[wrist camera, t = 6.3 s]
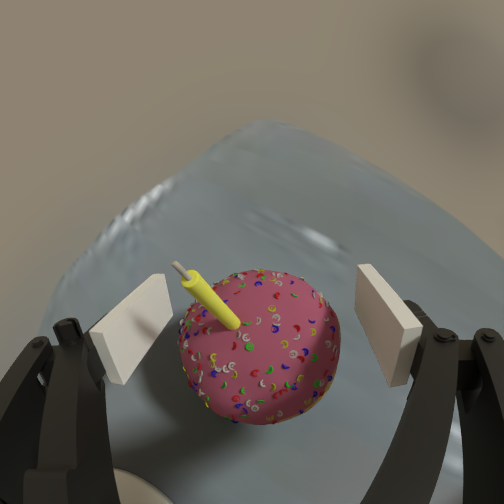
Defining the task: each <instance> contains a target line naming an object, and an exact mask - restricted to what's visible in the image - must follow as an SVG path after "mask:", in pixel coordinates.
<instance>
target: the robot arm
mask: <svg viewBox="0 0 504 504" xmlns="http://www.w3.org/2000/svg"><path fill="white" fill-rule="evenodd" d="M354 310H355V312H356V314H357V316H358V318H359V320H360V322H361V324H362V326H363V328H364V331H365V333H366V335H367V337H368V339H369V341H370V344H371V346H372V348H373V350H374V353H375V355H376V357H377V359H378V362H379V364H380V366H381V369H382V371H383V373H384V376H385V378H386V380H387V383H388V385H389V388H390V387H395V386H400V385H404V384H407V381H408V378H409V375H410V373H411V375H412V377H413V379H414V381H413V384H412V387H411V389H410V392H409V395H408V397H407V403H406V406H405V408H404V411H403V414H402V417H401V420H400V422H399V425H398V428H397V430H396V433H395V435H394V438H393V440H392V442H391V445H390V447H389V449H388V452H387V454H386V456H385V458H384V460H383V462H382V464H381V466H380V468H379V471H378V472H377V474H376V476H375V478H374V480H373V482H372V484H371V486H370V488H369V489H368V491H367V493H366V495H365V496H364V498H363V500H362V501H361V503H360V504H429V502H430V500H431V497H432V494H433V492H434V489H435V486H436V483H437V480H438V477H439V473H440V470H441V467H442V463H443V459H444V456H445V452H446V447H447V443H448V439H449V434H450V429H451V423H452V417H453V411H454V404H455V396H456V399H457V405H458V411H459V419H460V427H461V436H462V449H463V504H504V340H503V338H502V337H501V335H500V334H499V333H498V332H496V331H495V330H493V329H490V328H482V329H479V330H477V331H476V333H475V336H474V339H473V340H459V338H458V336H457V335H456V334H455V333H454V332H453V331H451V330H448V329H445V328H437V326H436V325H435V324H434V323H433V322H432V321H431V319H430V318H429V317H428V316H426V314H425V313H424V311H422V309H421V308H420V307H419V306H418V305H417V304H416V303H414V302H412V301H410V300H405V301H402V300H401V299H400V297H399V296H398V295H397V294H396V293H395V292H394V290H393V289H392V288H391V287H390V286H389V285H388V283H387V282H386V281H385V280H384V279H383V278H382V277H381V276H380V274H379V273H378V272H377V271H376V270H375V269H374V268H373V267H372V266H371V264H361V265H357V279H356V295H355V308H354ZM172 316H173V312H172V308H171V304H170V299H169V294H168V290H167V285H166V280H165V275H164V274H153V275H151V276H150V277H149V278H148V279H147V280H146V281H144V282H143V283H142V284H141V285H140V286H139V287H137V288H136V289H135V290H134V291H133V292H132V293H131V294H129V295H128V296H127V297H126V298H125V299H124V300H123V301H121V302H120V303H119V304H118V305H117V306H116V307H115V308H114V309H113V310H111V311H110V312H109V313H107V314H105V315H104V316H103V317H102V318H101V319H100V320H99V321H97V322H96V323H95V324H94V325H93V326H92V327H91V328H90V329H89V330H88V331H86V332H85V333H84V334H83V332H82V330H81V327H80V324H79V322H78V320H77V319H76V318H66V319H63V320H61V321H59V322H57V323H56V324H55V325H54V326H53V330H54V332H55V335H56V337H57V339H58V342H59V345H58V346H51V343H50V341H49V339H48V338H47V337H45V336H41V337H37V338H34V339H33V340H31V341H30V342H29V343H28V344H27V346H26V347H25V348H24V350H23V351H22V352H21V353H20V355H19V356H18V357H17V359H16V360H15V362H14V363H13V364H12V366H11V367H10V369H9V370H8V372H7V373H6V374H5V376H4V377H3V379H2V380H1V382H0V504H121V503H120V498H119V494H118V490H117V485H116V480H115V475H114V470H113V464H112V458H111V451H110V443H109V435H108V426H107V414H106V399H105V383H104V381H103V379H102V376H103V375H104V374H105V373H106V374H107V376H108V378H109V380H110V382H112V383H116V384H121V385H124V384H125V383H126V381H127V380H128V378H129V377H130V376H131V374H132V373H133V371H134V370H135V368H136V367H137V365H138V364H139V363H140V361H141V360H142V358H143V357H144V355H145V354H146V353H147V351H148V350H149V348H150V347H151V345H152V344H153V343H154V341H155V340H156V338H157V337H158V336H159V334H160V333H161V331H162V330H163V329H164V327H165V326H166V324H167V323H168V322H169V320H170V319H171V317H172ZM38 373H40V375H41V377H42V379H43V381H44V384H43V385H41V383H40V382H39V380H38V378H37V376H38Z"/></svg>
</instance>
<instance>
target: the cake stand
mask: <svg viewBox="0 0 504 504" xmlns="http://www.w3.org/2000/svg"><path fill="white" fill-rule="evenodd" d="M113 470H114V475H115V480H116V485H117V490H118V494H119V498H120V503H121V504H174V503H173V502H172V501H171V500H170V499H169V498H168V497H167V496H166V495H165V494H164V493H162V492H161V491H160V490H159V489H157V488H156V487H155V486H153V485H152V484H150V483H149V482H147V481H146V480H144V479H142V478H140V477H138V476H137V475H135V474H132V473H130V472H128V471H124V470H121V469H117V468H113Z"/></svg>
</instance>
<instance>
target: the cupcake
mask: <svg viewBox="0 0 504 504" xmlns="http://www.w3.org/2000/svg"><path fill="white" fill-rule="evenodd" d="M172 266H173V267H174V268H175V269H176V270H177V271H178V272H179V273H180V274H181V275H182V277H181V284H182V286H183V287H184V288H185V289H186V290H187V291H188V292H189V293H190V294H191V295H192V296H193V297H194V298H195V303H192V304H193V305H192V304H190V306H191V308H189V309H188V310H187V311H189V312H187V313H186V314H185V320H183V319H182V320H181V321H180V325H181V326H182V329H179V334H180V339H179V340H178V341H177V344H178V345H179V350H180V354H181V358H182V362H183V365H184V366H183V370H184V371H185V372H186V374H187V377H188V379H189V382H188V384H189V386H190V387H192V388H193V390H194V391H195V392H196V393H197V394H198V395H199V396H200V397H201V398H202V399H203V400H204V401H205V404H206V406H207V407H208V408H209V407H210V408H211V409H212V410H213V411H214V412H215V413H216V414H218V415H220V416H222V417H224V418H226V419H227V420H232V422H233V423H238V422H243V423H247V424H254V425H266V424H275V423H279V422H282V421H285V420H288V419H291V418H293V417H296V416H298V415H301V414H303V413H305V412H306V411H308V410H309V409H311V408H312V407H313V406H314V405H316V404H317V403H318V402H319V400H320V399H321V398H322V397H323V396H324V395H325V394H326V392H327V391H328V389H329V388H330V386H331V384H332V382H333V379H334V377H335V373H336V369H337V364H338V360H339V354H340V343H341V333H340V325H339V321H338V318H337V316H336V314H335V312H334V311H333V309H332V308H331V307H330V305H329V302H328V301H325V299H324V298H323V294H322V293H321V292H317V291H316V290H315V289H313V288H312V287H311V286H310V285H309V284H308V283H306V282H305V281H304V278H303V277H300V278H298V277H296V276H293V275H289V274H287V273H281V272H275V271H267V270H263V269H260V270H259V269H256V268H254V270H251V271H245V272H241V273H234V274H232V275H230V276H229V277H226V278H224V279H223V280H222V281H220V282H214V283H213V284H214V285H210V286H209V285H208V284H207V283H206V282H205V280H204V279H203V278H202V277H201V276H200V275H199V273H198V272H196V271H195V270H189V271H186V270H185V269H184V268H183V267H182V266H181V265H180V264H179V263H178V262H176V261H173V262H172ZM211 286H212V287H211ZM319 293H320V294H321V295H320V294H319ZM181 322H182V323H183V324H182V323H181ZM180 331H181V332H180ZM190 384H191V385H190Z"/></svg>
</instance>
